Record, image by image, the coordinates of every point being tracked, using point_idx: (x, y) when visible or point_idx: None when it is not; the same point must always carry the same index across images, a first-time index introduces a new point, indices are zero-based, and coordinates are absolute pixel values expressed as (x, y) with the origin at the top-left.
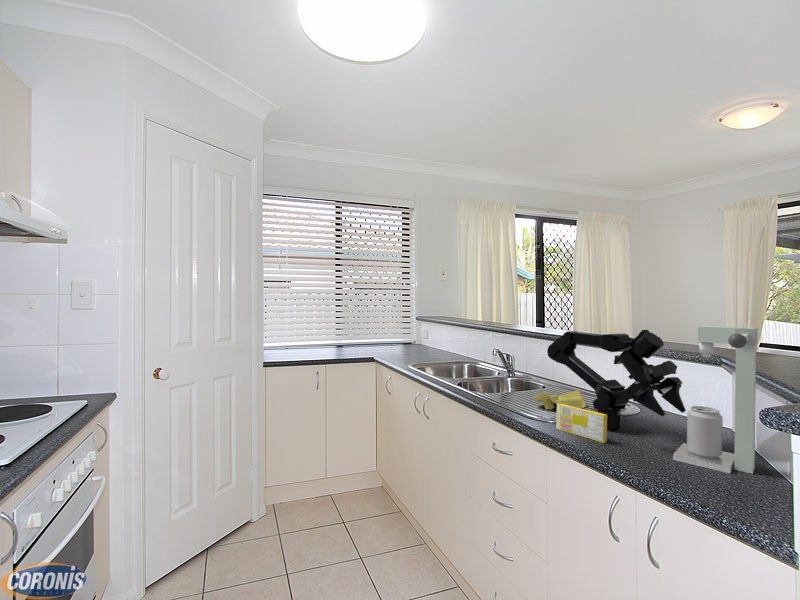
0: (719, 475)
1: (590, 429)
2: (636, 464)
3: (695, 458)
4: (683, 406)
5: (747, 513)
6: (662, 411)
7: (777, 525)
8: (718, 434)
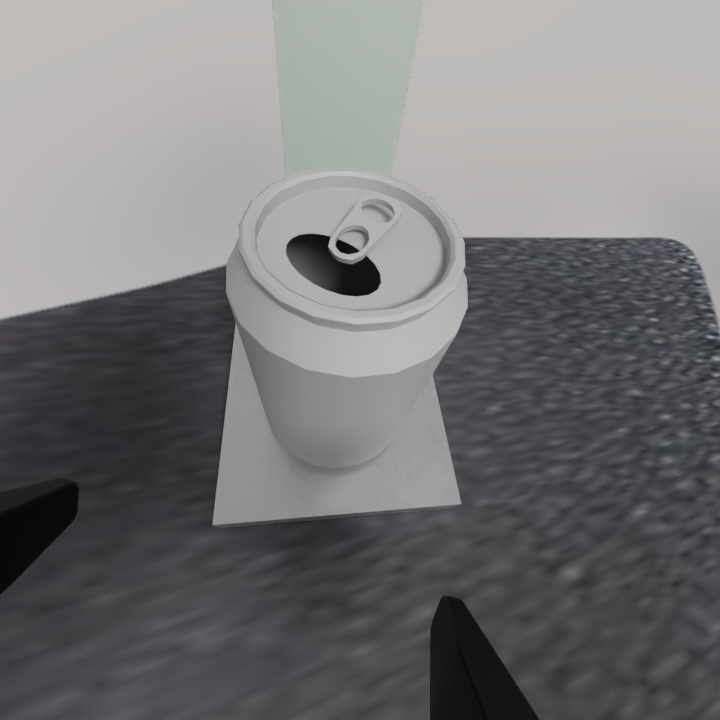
0: (461, 350)
1: None
2: (672, 618)
3: (431, 416)
4: (7, 498)
5: (639, 281)
6: (478, 629)
7: (630, 246)
8: (379, 284)
